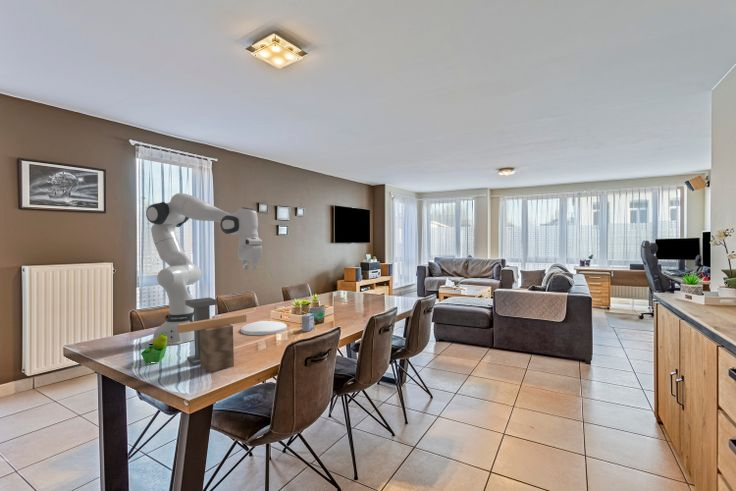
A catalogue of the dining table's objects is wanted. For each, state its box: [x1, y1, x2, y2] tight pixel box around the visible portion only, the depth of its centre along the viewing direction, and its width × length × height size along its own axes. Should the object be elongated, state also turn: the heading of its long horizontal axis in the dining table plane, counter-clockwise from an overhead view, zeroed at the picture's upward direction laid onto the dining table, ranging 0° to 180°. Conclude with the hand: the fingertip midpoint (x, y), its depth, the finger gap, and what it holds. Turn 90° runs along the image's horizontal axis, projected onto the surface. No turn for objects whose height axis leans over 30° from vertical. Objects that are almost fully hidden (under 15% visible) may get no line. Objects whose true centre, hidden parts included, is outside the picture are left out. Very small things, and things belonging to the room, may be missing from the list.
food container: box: [308, 304, 327, 325], centre depth 218 cm, size 12×6×10 cm, turn 148°
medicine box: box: [301, 312, 315, 333], centre depth 202 cm, size 8×4×9 cm, turn 168°
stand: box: [185, 297, 218, 367], centre depth 153 cm, size 10×10×26 cm
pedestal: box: [199, 324, 235, 374], centre depth 146 cm, size 10×10×16 cm
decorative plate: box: [240, 320, 288, 336], centre depth 205 cm, size 25×4×25 cm
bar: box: [177, 313, 247, 333], centre depth 145 cm, size 26×3×3 cm, turn 131°
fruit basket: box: [140, 334, 168, 364], centre depth 155 cm, size 11×9×11 cm
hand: (249, 269), depth 172 cm, fingers open, 8 cm apart
